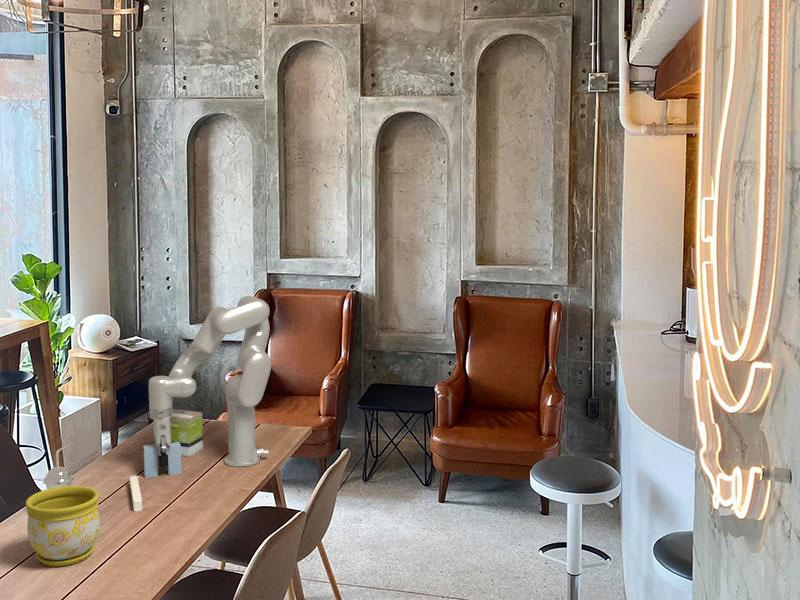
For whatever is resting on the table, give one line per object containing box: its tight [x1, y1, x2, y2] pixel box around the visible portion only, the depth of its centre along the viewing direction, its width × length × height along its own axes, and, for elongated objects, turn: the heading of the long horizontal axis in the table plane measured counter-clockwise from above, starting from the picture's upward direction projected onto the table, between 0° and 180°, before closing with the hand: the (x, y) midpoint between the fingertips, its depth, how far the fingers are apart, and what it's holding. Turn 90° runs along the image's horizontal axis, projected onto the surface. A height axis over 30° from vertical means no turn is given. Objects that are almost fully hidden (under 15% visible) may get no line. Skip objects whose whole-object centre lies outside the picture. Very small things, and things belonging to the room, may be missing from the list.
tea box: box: [154, 408, 204, 458], centre depth 308 cm, size 15×10×15 cm
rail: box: [129, 475, 143, 512], centre depth 261 cm, size 2×24×3 cm, turn 21°
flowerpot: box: [25, 485, 101, 567], centre depth 218 cm, size 18×18×16 cm
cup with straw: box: [43, 442, 74, 490], centre depth 249 cm, size 8×9×20 cm
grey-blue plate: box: [143, 442, 182, 479], centre depth 283 cm, size 12×4×10 cm, turn 111°
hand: (162, 462), depth 283 cm, fingers open, 6 cm apart
